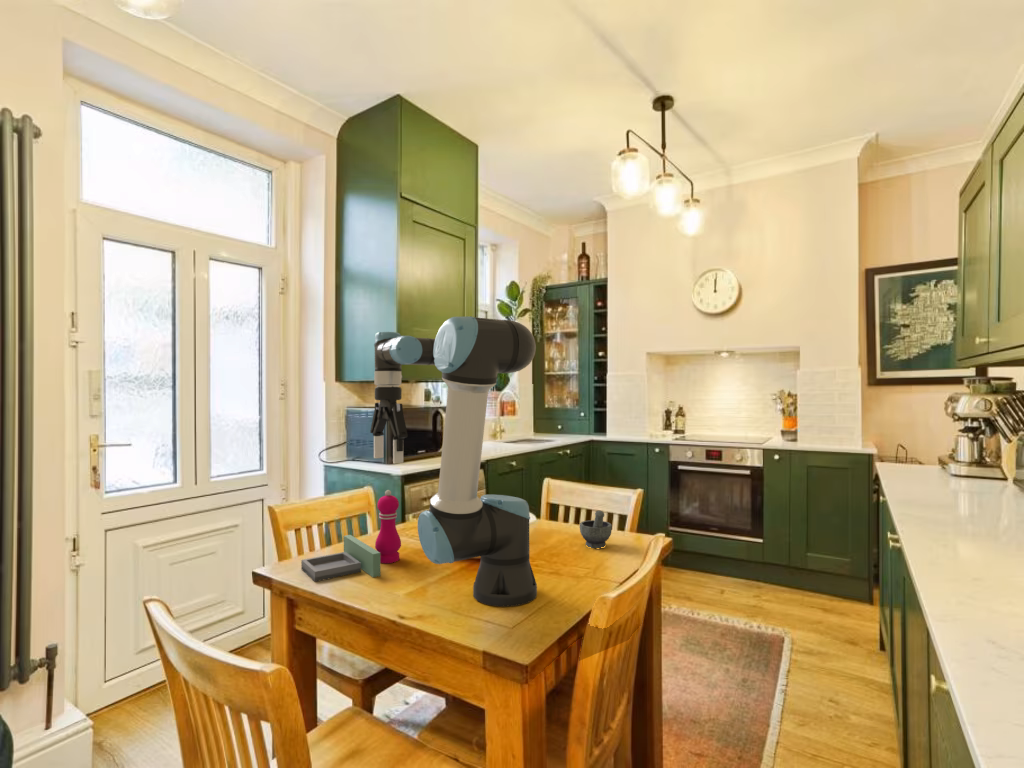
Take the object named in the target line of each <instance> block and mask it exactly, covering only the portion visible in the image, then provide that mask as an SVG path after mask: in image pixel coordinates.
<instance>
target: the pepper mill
mask: <svg viewBox="0 0 1024 768" xmlns="http://www.w3.org/2000/svg"><path fill="white" fill-rule="evenodd" d="M376 505H377V510H379V512H378V514H379V516H378V518H379V519H380V529H379V532H378V534H377V537H376V540H375V546H374V547H375V548H374V549H375V550H377V551H378V552H380V564H394V563H396V561H397V562H398V561H400V552H399V550H400V549H401V547H402V540H401V537H400V535H399V533H398V530H397V525H396V518H398V512H397V510H398V509H399V506H400V502H399V500H398V498H397V497H396V496H394V495H392V491H391V490H390V489H387V490H385V491H384V495H383V496H381V497H380V498H378V501H377V503H376ZM393 562H394V563H393Z"/></svg>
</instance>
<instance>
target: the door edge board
mask: <svg viewBox="0 0 1024 768" xmlns="http://www.w3.org/2000/svg"><path fill="white" fill-rule="evenodd" d="M343 552H346V553H348V554H349V555H350V556H352V557H353V558H355V559H356V560H358V561H359V562H361V571H364V573H366V574H368V575H369V576H370V577H371V578H377V576H378V577H381V563H380V552H378V551H377V550H376V548H373V547H372V546H370V545H369V544H367V543H365V542H363V541H362V540H360V539H358V538H357V537H355V536H354V535H352V534H347V535H343Z"/></svg>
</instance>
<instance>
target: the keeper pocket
mask: <svg viewBox="0 0 1024 768" xmlns="http://www.w3.org/2000/svg"><path fill="white" fill-rule="evenodd" d="M300 561H301V571H302V572H304V573H305V574H306V575H307V576H308V577H309V576H310V577H311V578H312V579H313V580H312V579H311V578H310V577H309V578H310V579H311V580H312V581H313V582H315V581H316V582H320V581H319V580H321V581H324V580H323V579H326V580H329V579H328V578H330V579H334V578H333V577H335V578H339V577H338V576H340V577H343V575H344V576H349V575H353V573H354V574H358V572H359V573H361V572H362V569H361V562H359V561H358V560H356V559H355V558H353V557H352V556H350V555H349V554H348V553H346V552H344V551H342V552H336V553H331V554H326V555H325V554H324V555H321V556H316V557H311V558H305V559H301V560H300ZM348 574H349V575H348Z"/></svg>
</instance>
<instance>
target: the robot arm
mask: <svg viewBox="0 0 1024 768" xmlns="http://www.w3.org/2000/svg"><path fill="white" fill-rule="evenodd" d="M437 331H438V332H437V334H436V335H435V338H429V337H415V336H411V335H401V333H399V332H396V331H379V332H376V333H375V334H374V335H375V336H374V344H373V346H374V374H373V375H374V379H373V380H374V381H373V382H374V386H376V387H375V388H374V400H375V401H379V402H374V412H373V414H372V415H373V417H372V421H371V426H370V434H372V436H373V459H383V458H384V435H385V433H384V430H385V427H386V424H387V423H388V422H389V425H390V428H391V431H392V434H393V437H392V463H393V464H394V465H395V464H403V463H404V440H405V438H408V436H409V435H408V430H407V426H406V422H405V417H404V412H403V409H404V408H403V403H397V401H400V400H401V399H402V394H403V392H402V388H401V387H400V386H401V385H402V379H403V375H402V372H403V370H402V365H403V366H404V365H410V366H411V365H413V366H435V367H436V369H437V370H438V371H439V372H440V373H441V379H442V380H443V382H444V383H445V384H446V386H447V394H446V395H447V397H446V406H445V417H444V427H443V436H442V438H443V439H442V449H441V459H440V468H439V476H438V477H439V479H438V490H437V492H436V493H435V494H433V495H432V497H430V499H429V509H428V510H424V511H421V512H420V513H419V516H418V517H417V535H418V539H419V540H418V541H419V544H420V546H421V549H422V550H423V553H424V555H425V557H426V558H427V559H428V560H429V561H430V562H431V563H433V564H435V565H442V564H453V563H455V562H458V561H463V560H469V559H474V558H478V557H480V562H479V567H478V569H477V572H476V575H475V576H476V577H475V581H474V582H473V587H472V589H473V591H472V593H473V595H472V596H473V598H474V599H475V600H476V601H477V602H479V603H481V604H484V605H487V606H493V607H516V606H521V605H525V604H528V603H530V602H532V601H534V600H535V599H536V597H538V596H537V595H538V584H537V581H536V577H535V574H534V571H533V568H532V565H531V561H530V520H531V516H530V506H529V503H528V501H527V500H525V499H523V498H520V497H518V496H516V497H515V496H511V495H506V494H484V495H481V496H480V497H479V496H478V489H479V481H480V480H479V479H480V471H481V460H482V452H483V443H484V436H485V435H484V434H485V424H486V416H487V415H486V414H487V408H488V407H487V406H488V405H487V404H488V397H489V391H490V390H491V389H492V388H493V387H495V386H496V385H497V379H498V374H511V373H517V372H520V371H522V370H524V369H525V368H526V367H528V366H529V365H530V364H531V362H532V361H533V360H534V357H535V355H536V349H537V346H536V340H535V337H534V335H533V333H532V332H531V330H530V329H529V328H528V327H526V326H525V325H524V324H522V323H521V322H518V321H515V320H510V319H498V318H497V319H496V318H487V317H486V318H485V317H476V316H475V317H474V316H452V317H450V318H447V319H446V320H445V321H444V322H443V323H442V325H441V326H440V327H439V329H438V330H437ZM387 421H388V422H387Z"/></svg>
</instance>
